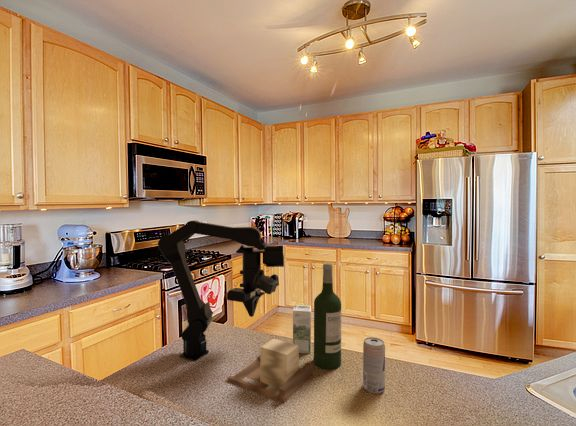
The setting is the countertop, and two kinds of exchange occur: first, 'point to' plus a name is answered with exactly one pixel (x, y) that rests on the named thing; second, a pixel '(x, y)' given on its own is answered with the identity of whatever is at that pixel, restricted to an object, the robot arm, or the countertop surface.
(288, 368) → the maple block
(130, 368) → the countertop surface
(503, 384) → the countertop surface
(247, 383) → the tray
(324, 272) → the wine bottle
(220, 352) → the countertop surface
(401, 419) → the countertop surface
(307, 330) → the syrup box
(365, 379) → the energy drink
